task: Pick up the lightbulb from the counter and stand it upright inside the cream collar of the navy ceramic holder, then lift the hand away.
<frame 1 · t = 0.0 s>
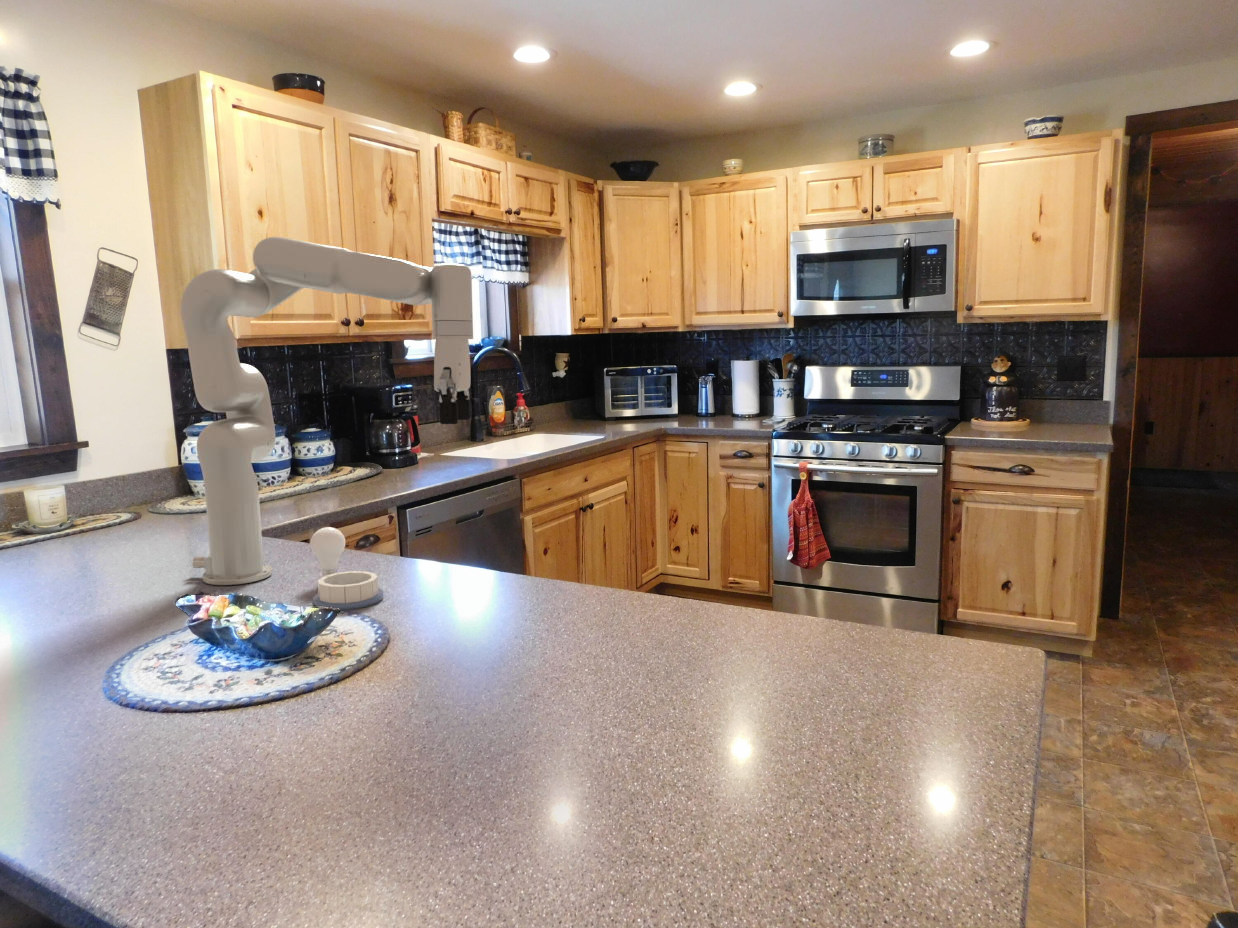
hand: (455, 421, 156), 31 cm above the worktop, fingers open, 9 cm apart
holder: (348, 599, 147), on the worktop
lightbulb: (330, 583, 159), on the worktop
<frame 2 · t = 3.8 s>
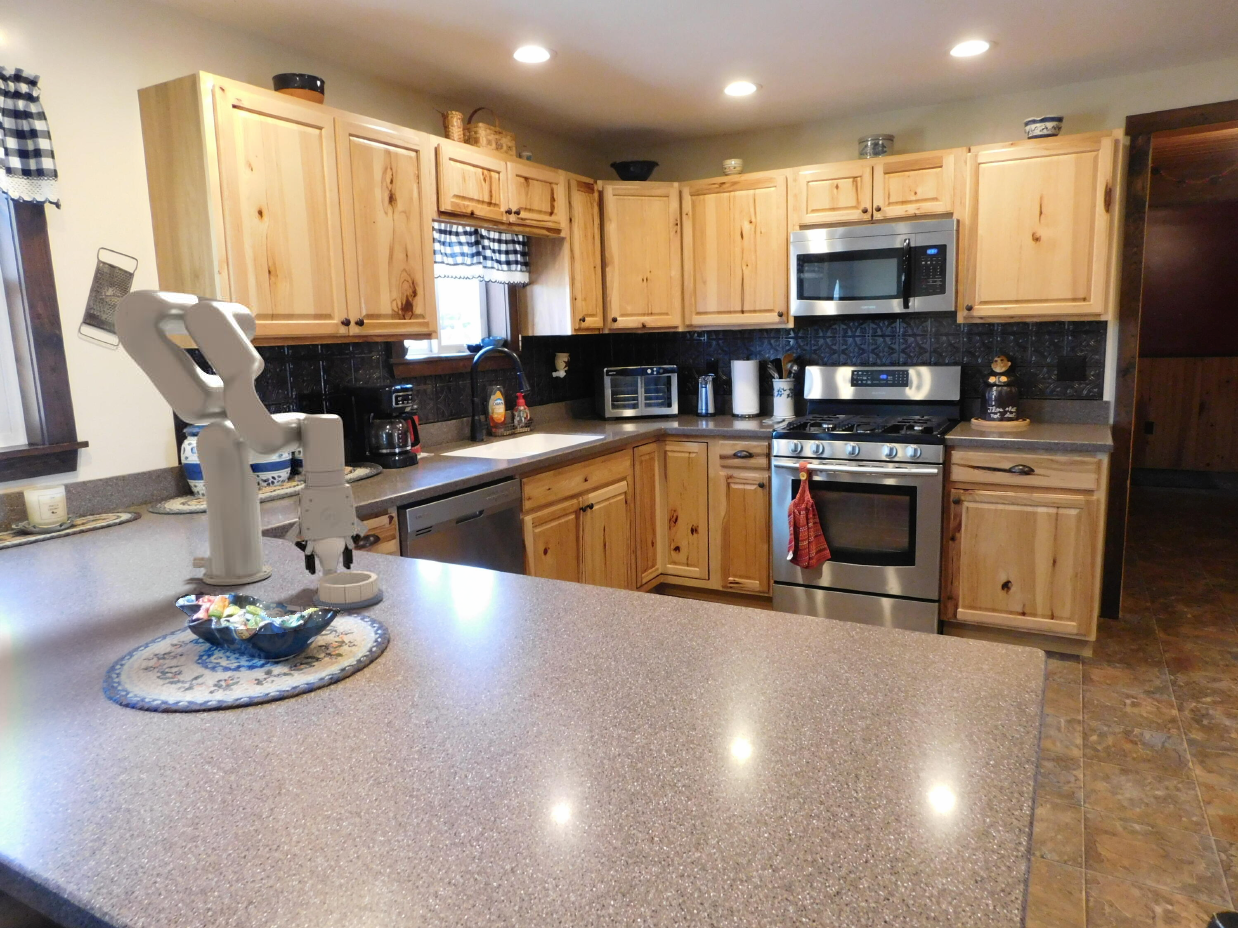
hand: (329, 569, 158), 3 cm above the worktop, fingers closed on lightbulb, 5 cm apart
lightbulb: (330, 583, 159), on the worktop, touching gripper
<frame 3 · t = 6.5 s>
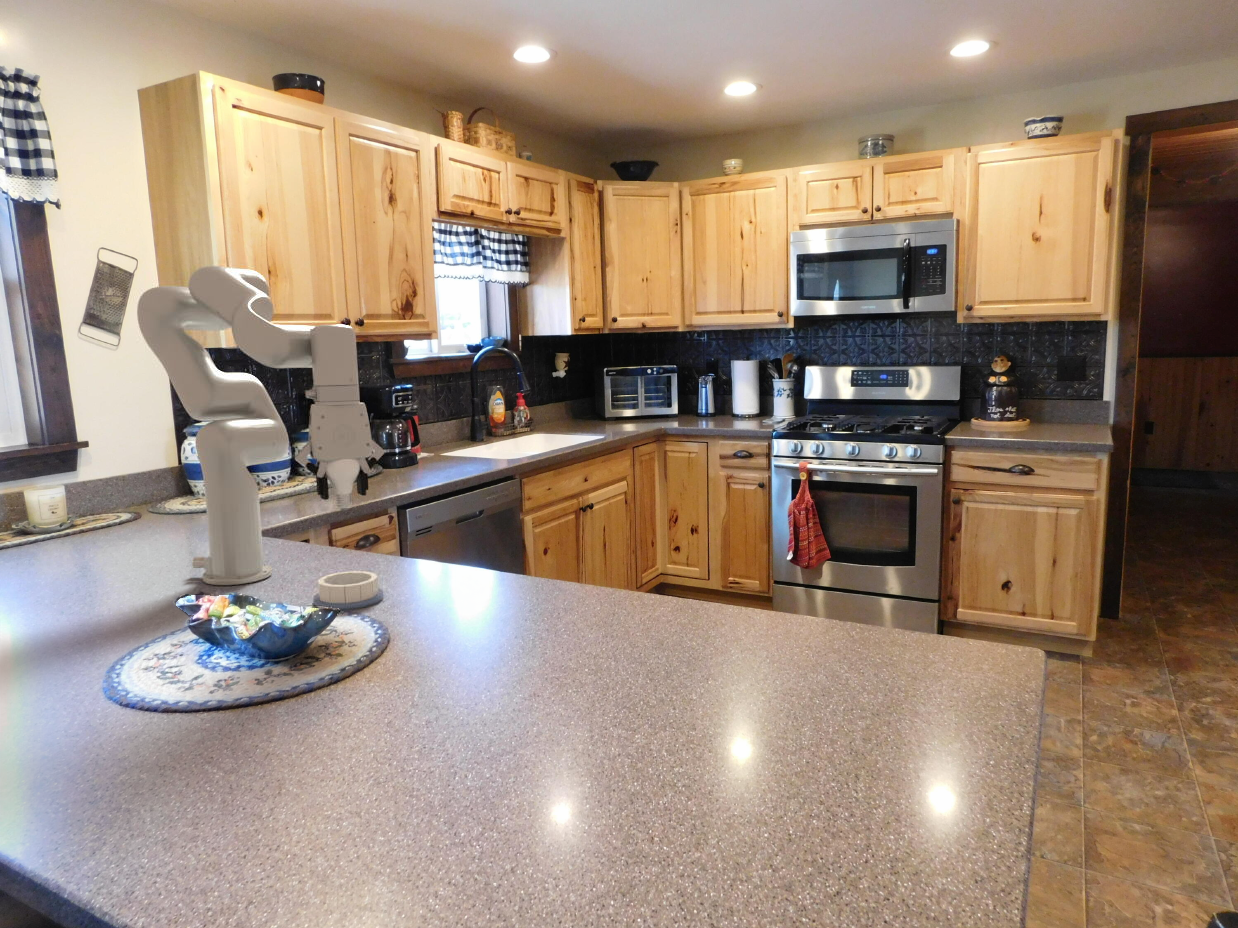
hand: (343, 495, 146), 19 cm above the worktop, fingers closed on lightbulb, 5 cm apart
lightbulb: (344, 510, 146), point 16 cm above the worktop, touching gripper
when the fingers open (5 cm above the worktop, at t = 9.7 s): lightbulb drops 1 cm, resting on holder.
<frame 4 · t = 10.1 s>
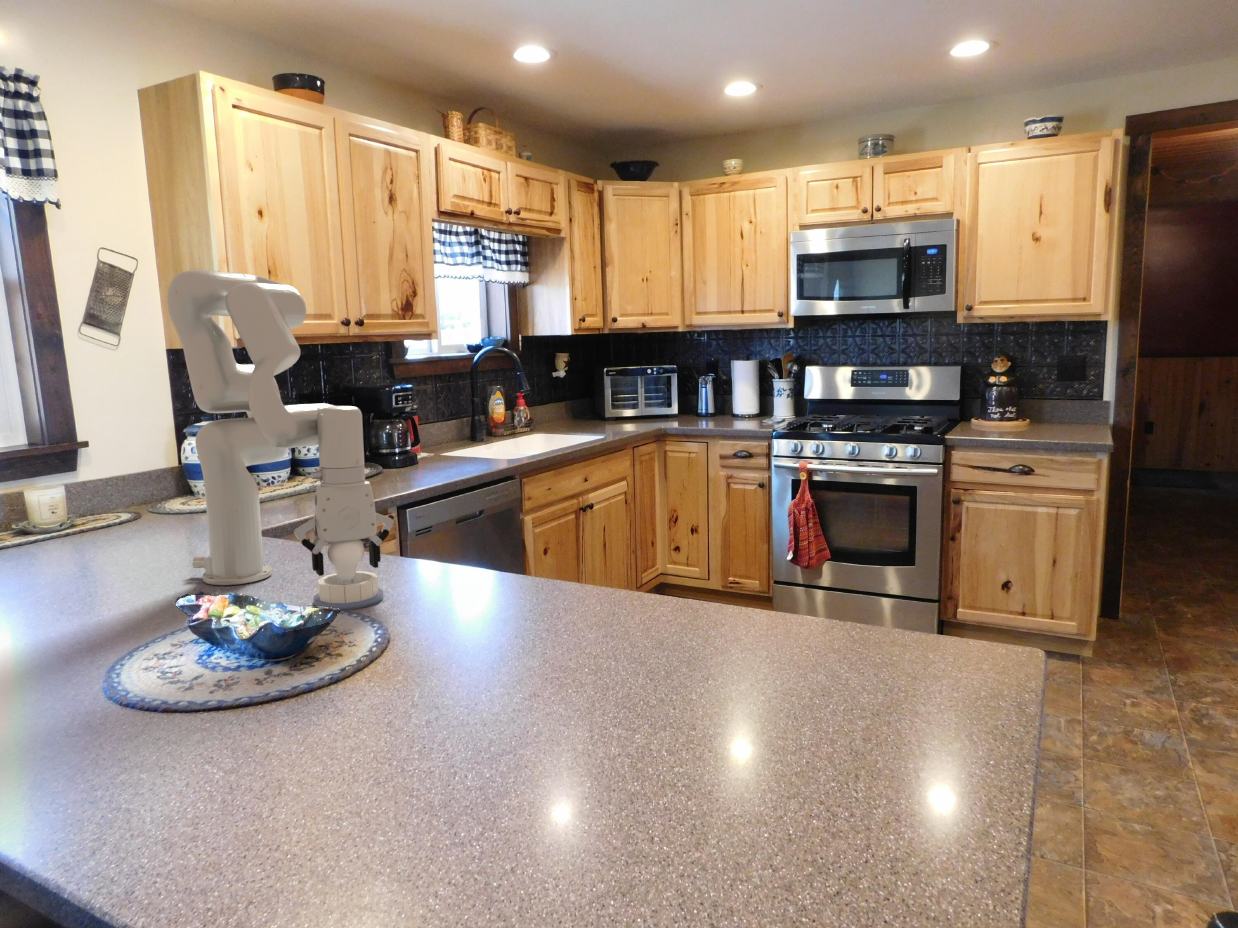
hand: (347, 569, 146), 6 cm above the worktop, fingers open, 9 cm apart
lightbulb: (346, 595, 147), point 1 cm above the worktop, touching holder
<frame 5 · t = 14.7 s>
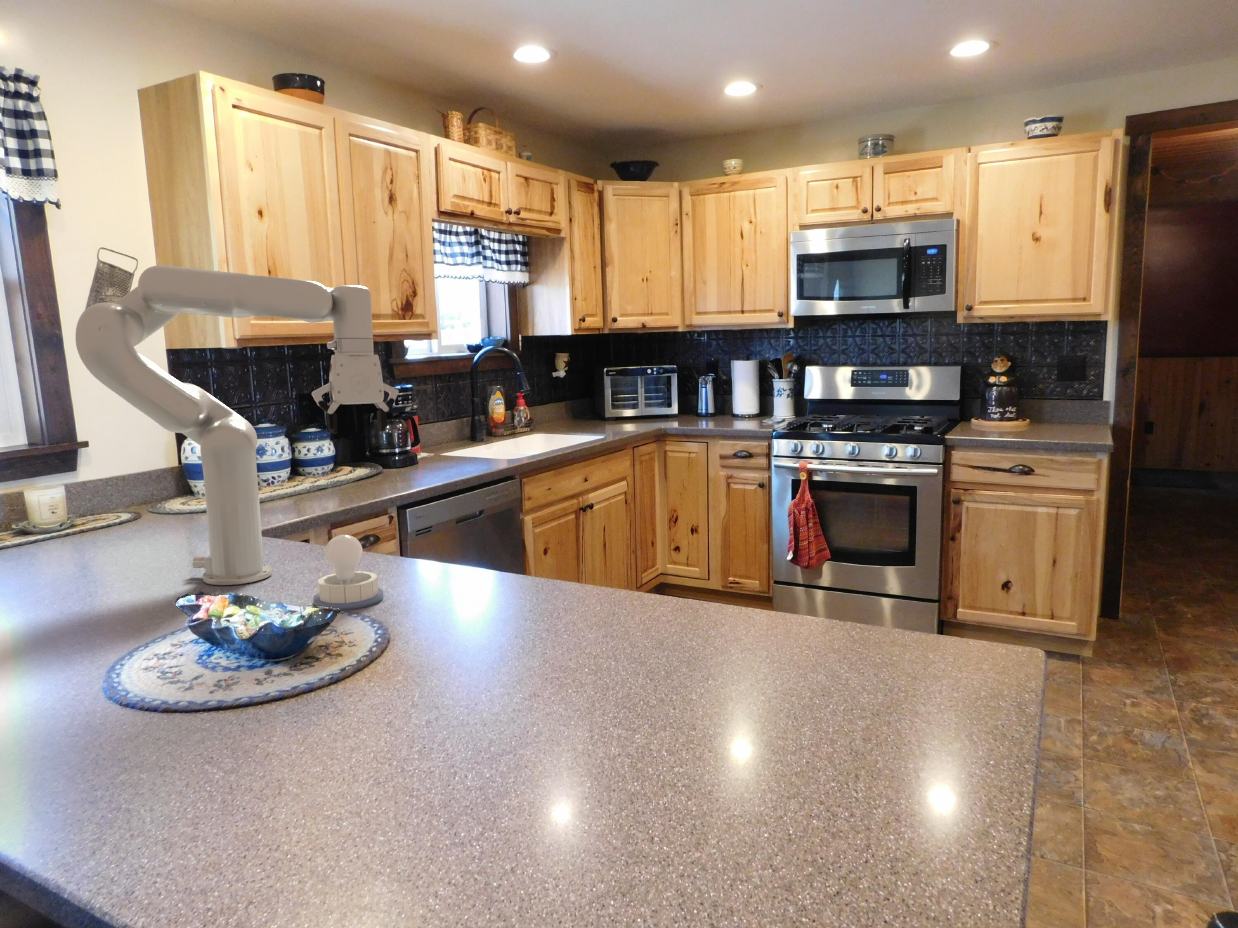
hand: (358, 431, 167), 28 cm above the worktop, fingers open, 9 cm apart
nothing on the worktop moved.
at the end: lightbulb 0.3 cm off-centre on the holder, point 0.8 cm above the holder's base; lightbulb tilted 1°; the gripper is holding nothing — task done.
